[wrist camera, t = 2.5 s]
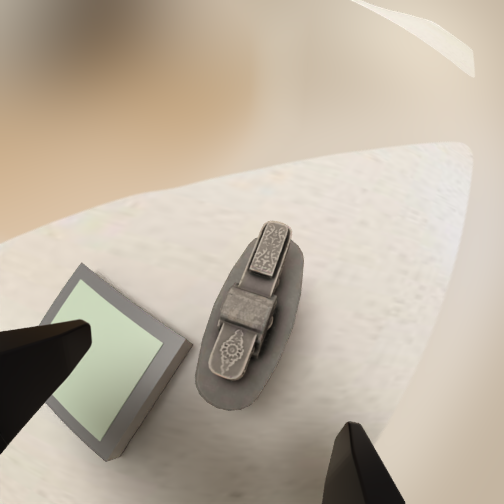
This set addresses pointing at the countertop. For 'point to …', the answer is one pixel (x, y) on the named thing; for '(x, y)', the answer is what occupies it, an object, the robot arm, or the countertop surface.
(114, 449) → the baseplate
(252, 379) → the lighter
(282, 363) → the countertop surface
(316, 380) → the countertop surface
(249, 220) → the countertop surface
